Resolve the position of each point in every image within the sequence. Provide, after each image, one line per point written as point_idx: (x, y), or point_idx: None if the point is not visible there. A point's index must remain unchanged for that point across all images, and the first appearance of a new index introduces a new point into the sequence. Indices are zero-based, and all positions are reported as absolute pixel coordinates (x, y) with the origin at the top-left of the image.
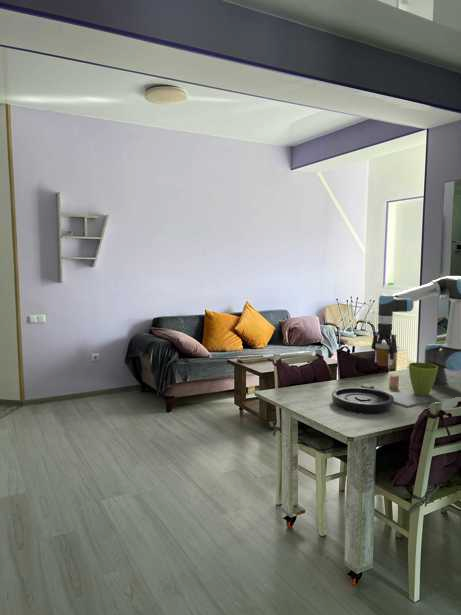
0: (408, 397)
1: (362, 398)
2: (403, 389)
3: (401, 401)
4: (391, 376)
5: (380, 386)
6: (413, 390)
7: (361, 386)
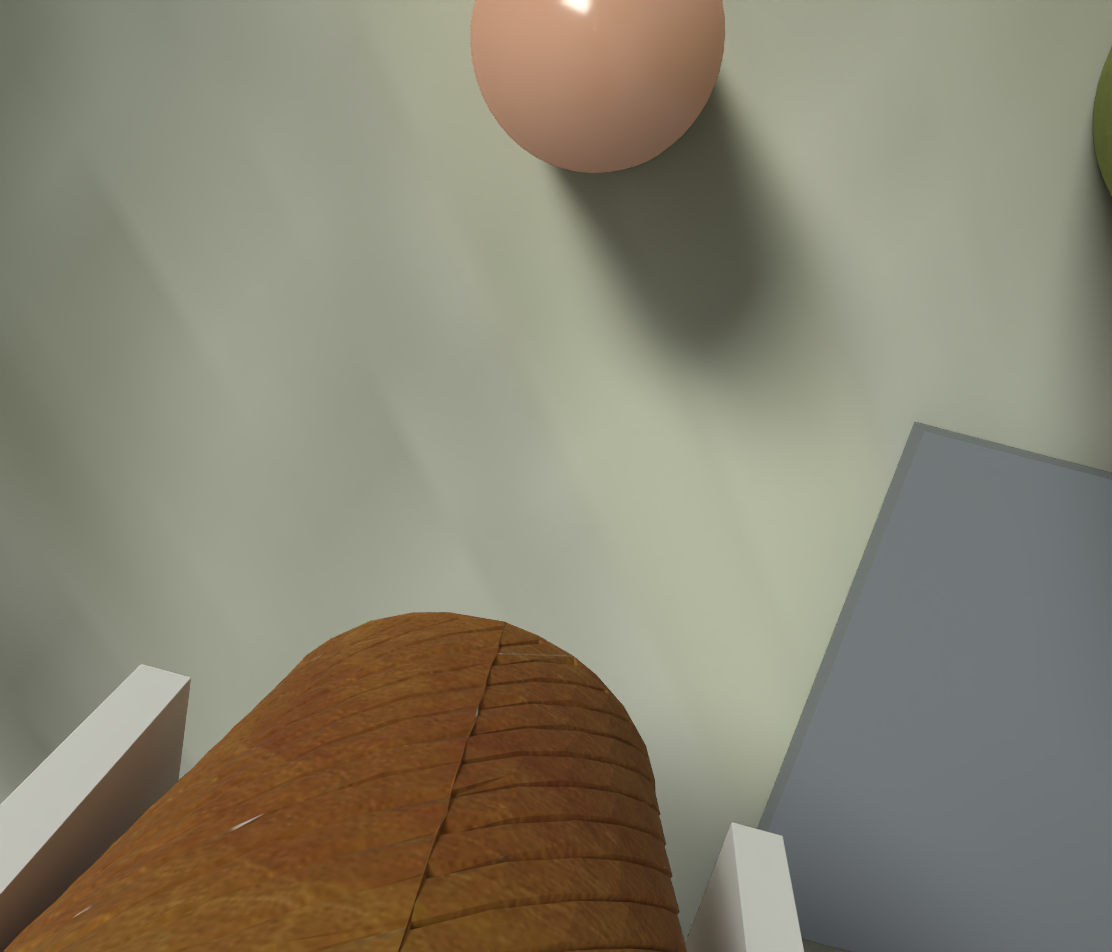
0: (1106, 654)
1: None
2: (816, 30)
3: (1061, 918)
4: (561, 162)
5: (367, 175)
6: (1106, 184)
7: None
